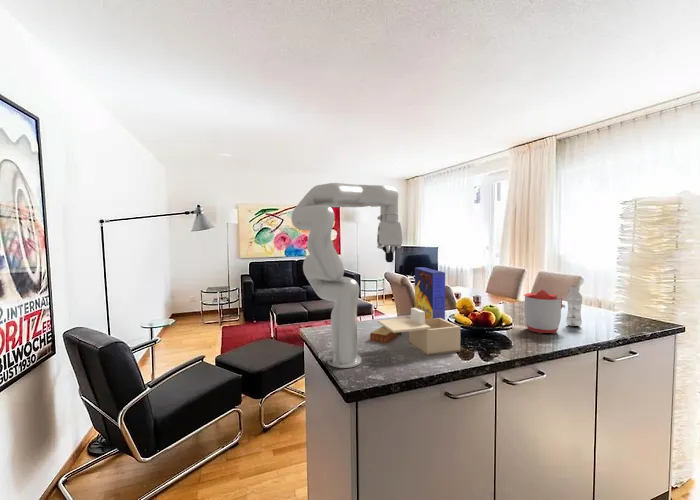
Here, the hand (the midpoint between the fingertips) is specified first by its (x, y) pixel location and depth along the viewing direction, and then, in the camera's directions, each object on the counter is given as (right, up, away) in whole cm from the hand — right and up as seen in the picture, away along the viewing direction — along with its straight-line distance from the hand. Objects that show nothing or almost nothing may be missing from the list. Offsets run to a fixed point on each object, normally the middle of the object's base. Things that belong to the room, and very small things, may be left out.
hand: (389, 261), depth 146 cm
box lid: (+4, -25, -10) cm, 27 cm away
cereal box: (+21, -34, +17) cm, 43 cm away
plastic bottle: (+94, -33, +23) cm, 103 cm away
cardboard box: (+18, -35, -5) cm, 40 cm away
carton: (-1, -35, +9) cm, 36 cm away
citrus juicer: (+76, -34, +16) cm, 84 cm away
